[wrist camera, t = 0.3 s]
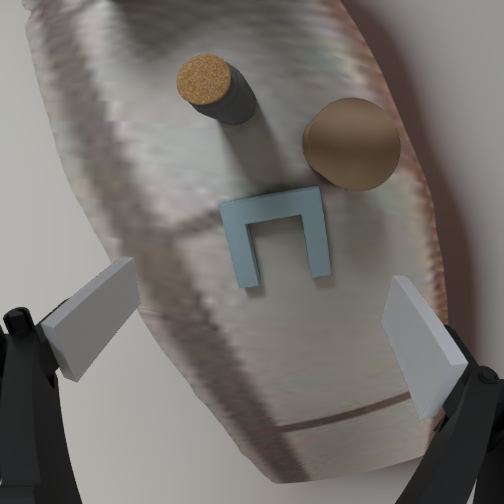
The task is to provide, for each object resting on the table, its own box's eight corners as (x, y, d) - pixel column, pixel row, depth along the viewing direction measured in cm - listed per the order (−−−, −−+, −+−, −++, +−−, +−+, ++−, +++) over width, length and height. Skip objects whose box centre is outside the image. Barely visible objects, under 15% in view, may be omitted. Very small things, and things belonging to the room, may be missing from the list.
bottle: (234, 133, 35) (202, 124, 21) (204, 105, 34) (157, 84, 20) (265, 103, 33) (253, 75, 19) (234, 75, 32) (204, 36, 18)
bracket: (222, 202, 39) (219, 206, 37) (317, 185, 36) (319, 188, 34) (241, 281, 43) (239, 288, 40) (328, 268, 40) (331, 275, 38)
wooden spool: (296, 117, 34) (300, 103, 23) (361, 109, 32) (390, 95, 21) (309, 183, 37) (318, 197, 26) (373, 174, 35) (405, 185, 24)
